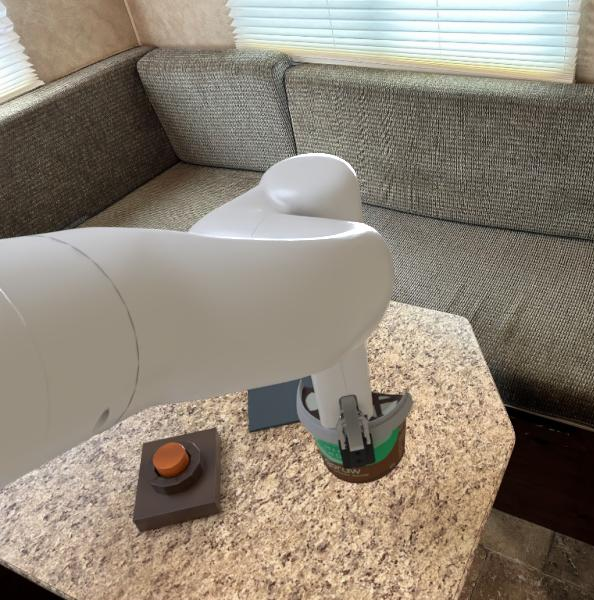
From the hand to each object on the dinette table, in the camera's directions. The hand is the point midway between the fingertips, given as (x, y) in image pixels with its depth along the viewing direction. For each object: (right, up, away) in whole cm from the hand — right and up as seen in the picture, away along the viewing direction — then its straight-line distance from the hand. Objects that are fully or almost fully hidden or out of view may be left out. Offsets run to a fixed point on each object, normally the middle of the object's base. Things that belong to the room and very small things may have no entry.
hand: (353, 432), depth 63 cm
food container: (0, -5, +3) cm, 6 cm away
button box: (-24, -11, +18) cm, 32 cm away
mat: (-11, +2, +33) cm, 35 cm away
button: (-25, -8, +16) cm, 30 cm away
